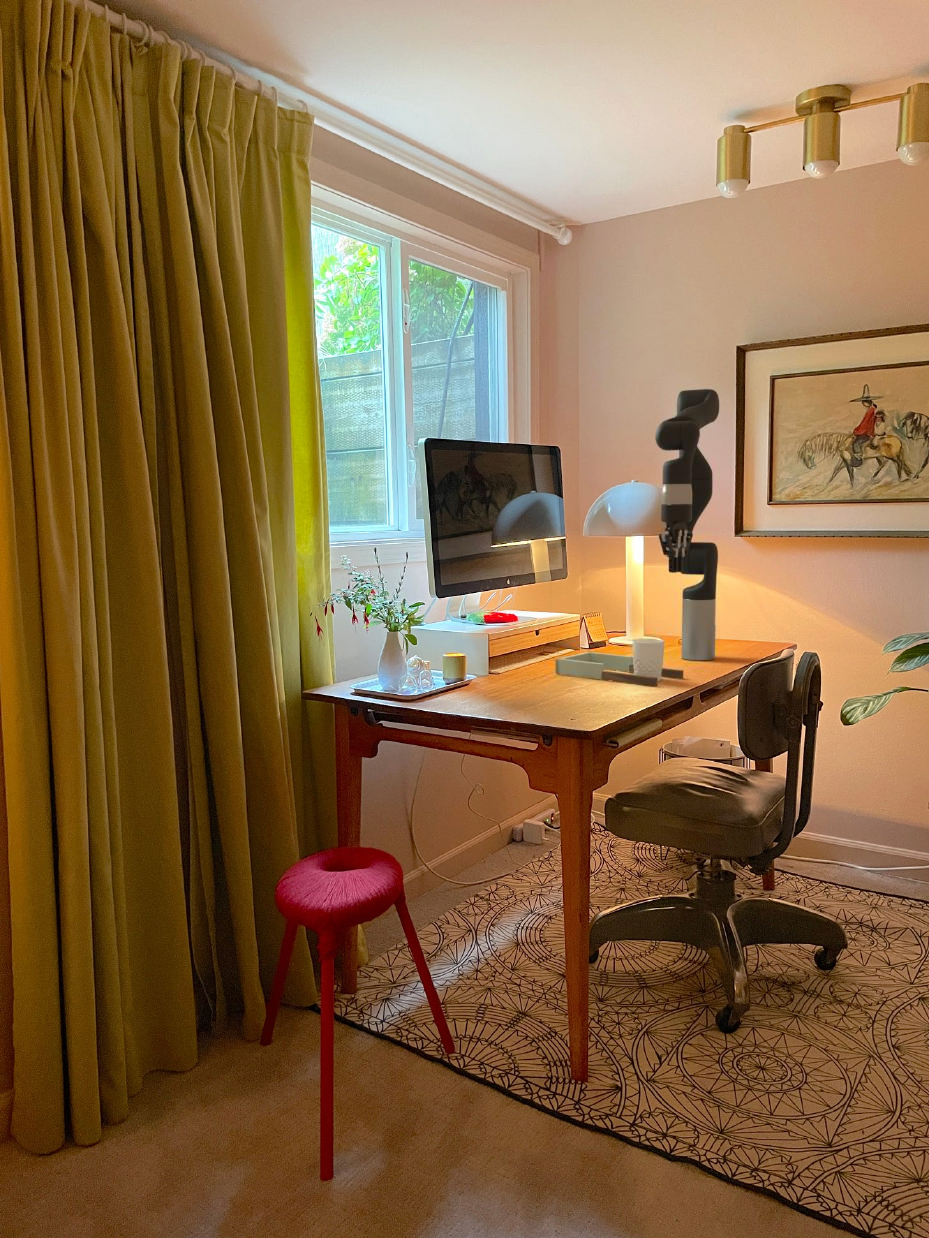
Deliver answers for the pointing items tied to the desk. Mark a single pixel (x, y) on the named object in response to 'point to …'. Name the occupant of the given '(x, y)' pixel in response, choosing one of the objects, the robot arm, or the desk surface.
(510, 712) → the desk surface
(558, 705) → the desk surface
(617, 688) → the desk surface
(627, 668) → the tray
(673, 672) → the channel
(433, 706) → the desk surface
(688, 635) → the robot arm
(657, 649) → the white cup
